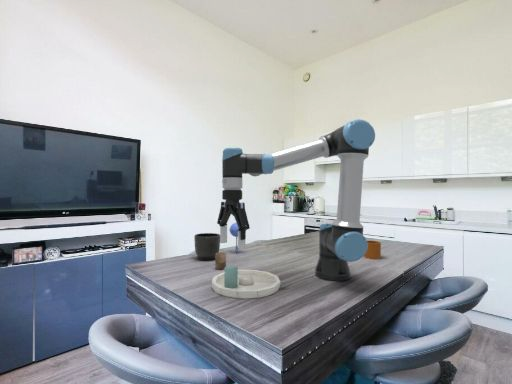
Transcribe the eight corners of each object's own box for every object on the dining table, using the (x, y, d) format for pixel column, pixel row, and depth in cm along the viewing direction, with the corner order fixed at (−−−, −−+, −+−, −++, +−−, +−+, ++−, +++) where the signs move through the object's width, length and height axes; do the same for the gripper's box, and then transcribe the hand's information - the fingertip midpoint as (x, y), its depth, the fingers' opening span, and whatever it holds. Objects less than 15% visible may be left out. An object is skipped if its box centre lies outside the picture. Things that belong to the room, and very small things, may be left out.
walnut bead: (227, 267, 132) (228, 253, 132) (222, 270, 128) (222, 255, 128) (219, 266, 134) (219, 252, 134) (213, 269, 130) (213, 254, 130)
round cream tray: (288, 281, 113) (288, 273, 113) (262, 303, 90) (262, 294, 90) (233, 272, 125) (233, 265, 125) (198, 290, 101) (198, 282, 101)
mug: (387, 257, 157) (387, 241, 157) (374, 260, 150) (375, 244, 150) (372, 254, 165) (373, 239, 164) (360, 256, 158) (360, 241, 158)
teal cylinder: (221, 285, 104) (222, 267, 104) (233, 283, 107) (233, 265, 107) (228, 289, 100) (228, 270, 100) (240, 286, 103) (240, 268, 103)
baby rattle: (241, 254, 160) (241, 223, 160) (227, 253, 162) (227, 223, 162) (245, 251, 169) (245, 222, 169) (231, 250, 170) (231, 221, 170)
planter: (207, 254, 160) (207, 232, 160) (225, 258, 152) (225, 234, 152) (188, 259, 149) (189, 235, 149) (206, 263, 140) (207, 237, 140)
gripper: (209, 189, 112) (208, 241, 112) (241, 189, 91) (240, 252, 91) (225, 189, 116) (225, 239, 116) (259, 189, 95) (259, 250, 95)
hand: (232, 245), depth 104 cm, fingers open, 13 cm apart
